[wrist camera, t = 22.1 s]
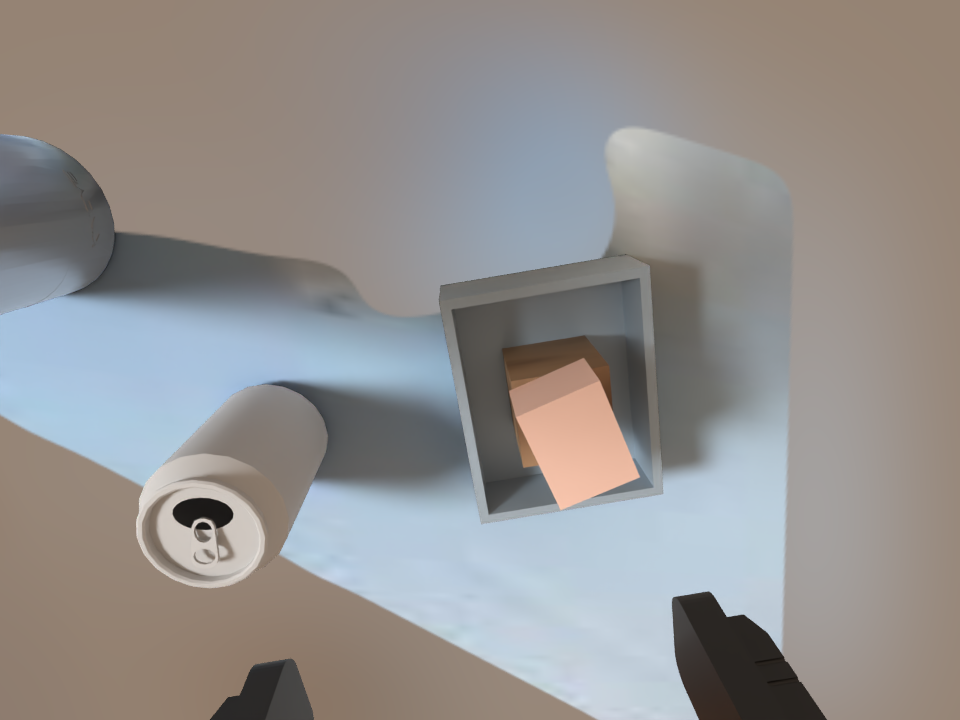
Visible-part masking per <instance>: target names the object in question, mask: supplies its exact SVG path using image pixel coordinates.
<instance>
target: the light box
mask: <svg viewBox="0 0 960 720" xmlns="http://www.w3.org/2000/svg"><path fill="white" fill-rule="evenodd" d="M509 393H510V397H511V401H512V405H513V409H514V412H515V416H516V419H517V421H518V423H519V425H520V427H521V429H522V431H523V433H524V435H525V437H526V440H527V442H528V444H529V446H530V448H531V450H532V452H533V454H534V456H535V458H536V460H537V462H538V464H539V466H540V468H541V471H542V473H543V475H544V477H545V479H546V481H547V483H548V485H549V487H550V489H551V491H552V493H553V495H554V497H555V499H556V502H557V504H558V506H559V508H560V510H563V509H565V508H567V507H570V506H572V505H575V504H577V503H579V502H582V501H584V500H587V499H589V498H591V497H594V496H596V495H599V494H601V493H603V492H606V491H608V490H611V489H613V488H615V487H618V486H620V485H623V484H625V483H627V482H630V481H632V480H635V479H637V478H639V477H640V476H639V473H638V471H637V469H636V466H635V464H634V461H633V459H632V457H631V454H630V452H629V449H628V447H627V445H626V442H625V440H624V437H623V435H622V433H621V430H620V428H619V425H618V423H617V421H616V418H615V416H614V413H613V411H612V409H611V406H610V404H609V401H608V399H607V397H606V394H605V392H604V389H603V387H602V385H601V382H600V380H599V379H598V377H597V376H596V374H595V373H594V372H593V370H592V369H591V367H590V366H589V365H588V363H587V362H586V360H585V359H584V358H582V359H580V360H578V361H575V362H573V363H571V364H569V365H566V366H564V367H562V368H560V369H557V370H555V371H553V372H551V373H548V374H546V375H544V376H542V377H539V378H537V379H535V380H533V381H530V382H528V383H526V384H524V385H521V386H519V387H517V388H515V389H512V390H510V391H509Z"/></svg>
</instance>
